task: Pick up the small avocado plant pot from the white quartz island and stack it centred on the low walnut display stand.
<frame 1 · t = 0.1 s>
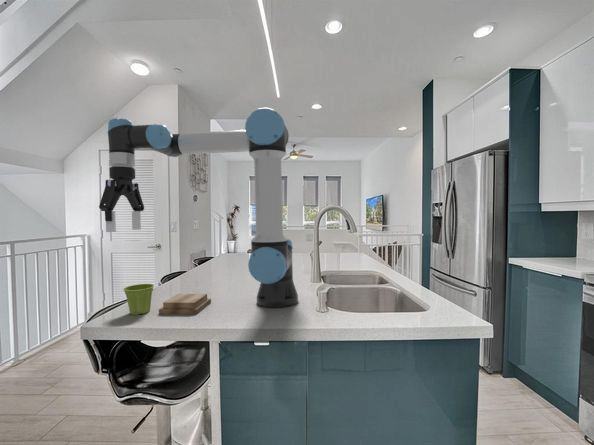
hand: (124, 230, 106), 28 cm above the countertop, fingers open, 13 cm apart
plant pot: (140, 312, 107), on the countertop
walnut stand: (186, 307, 111), on the countertop
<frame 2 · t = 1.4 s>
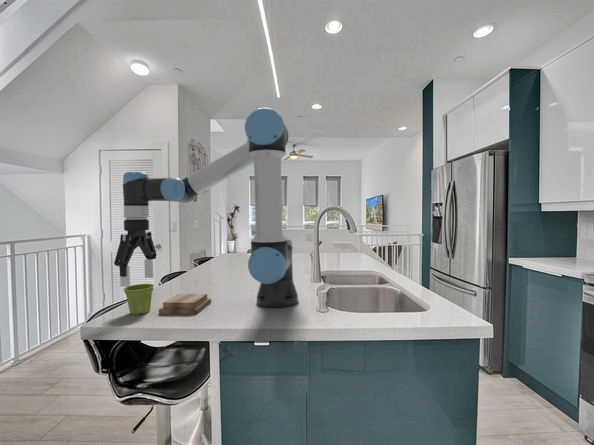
hand: (137, 281, 107), 10 cm above the countertop, fingers open, 13 cm apart
nothing on the countertop moved.
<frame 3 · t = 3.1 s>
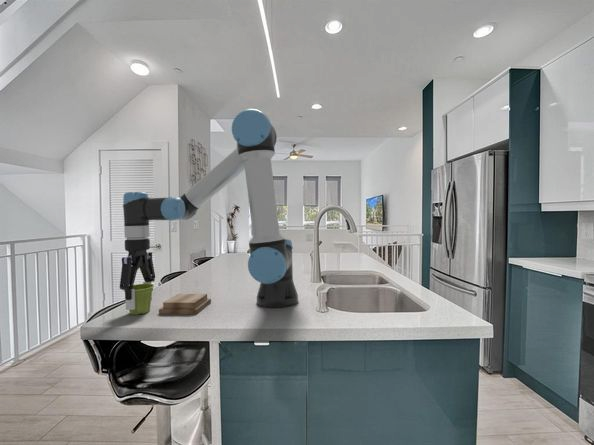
hand: (139, 304, 107), 3 cm above the countertop, fingers closed on plant pot, 9 cm apart
plant pot: (139, 312, 107), on the countertop, touching gripper
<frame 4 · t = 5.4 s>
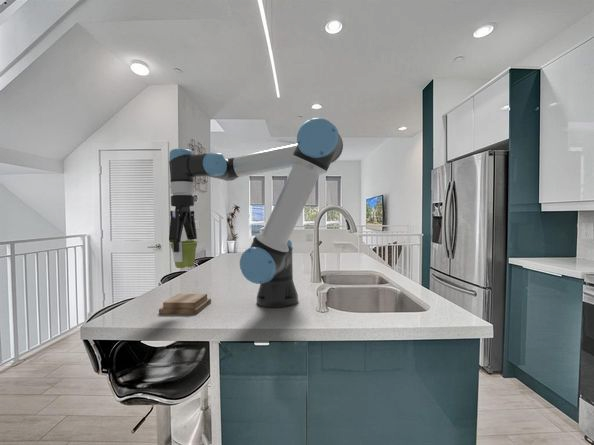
hand: (184, 259, 110), 17 cm above the countertop, fingers closed on plant pot, 9 cm apart
plant pot: (184, 267, 110), point 14 cm above the countertop, touching gripper
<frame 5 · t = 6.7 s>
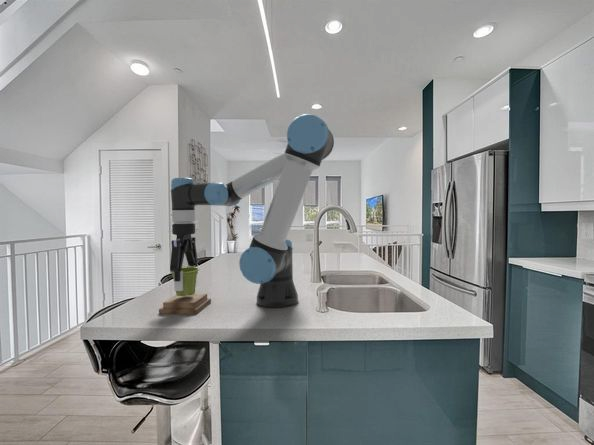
hand: (185, 287, 110), 7 cm above the countertop, fingers closed on plant pot, 9 cm apart
plant pot: (185, 294, 111), point 5 cm above the countertop, touching gripper
when the fingers open (6 cm above the countertop, at t = 7.7 s): plant pot stays where it is, resting on walnut stand.
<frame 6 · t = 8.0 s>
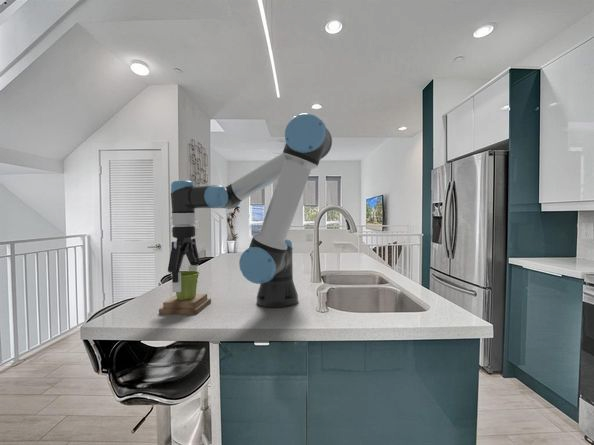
hand: (185, 287, 110), 7 cm above the countertop, fingers open, 12 cm apart
plant pot: (186, 298, 111), point 3 cm above the countertop, touching walnut stand
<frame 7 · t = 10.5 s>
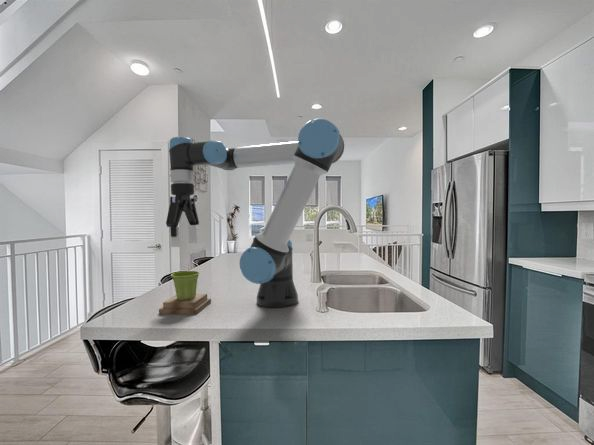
hand: (184, 244, 110), 22 cm above the countertop, fingers open, 13 cm apart
nothing on the countertop moved.
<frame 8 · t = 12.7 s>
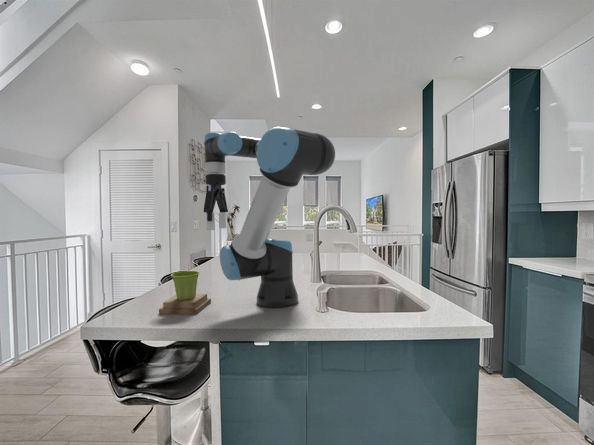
hand: (217, 229, 123), 27 cm above the countertop, fingers open, 13 cm apart
nothing on the countertop moved.
at the end: plant pot 0.1 cm from the walnut stand (horizontally); plant pot inside the target area on the walnut stand (0.1 cm from its centre), point 3.3 cm above the walnut stand's base; plant pot tilted 0° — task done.
